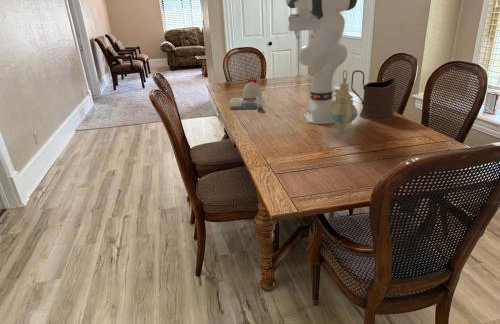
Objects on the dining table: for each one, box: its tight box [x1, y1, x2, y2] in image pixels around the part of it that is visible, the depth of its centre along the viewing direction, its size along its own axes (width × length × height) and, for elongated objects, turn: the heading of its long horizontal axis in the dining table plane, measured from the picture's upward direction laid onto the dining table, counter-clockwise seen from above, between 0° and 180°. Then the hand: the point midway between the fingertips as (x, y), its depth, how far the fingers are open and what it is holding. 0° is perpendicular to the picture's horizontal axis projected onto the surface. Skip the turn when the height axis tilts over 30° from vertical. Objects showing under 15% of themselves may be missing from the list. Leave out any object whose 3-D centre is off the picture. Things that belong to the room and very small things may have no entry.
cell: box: [255, 95, 264, 111], centre depth 214 cm, size 4×4×9 cm
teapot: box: [329, 69, 359, 134], centre depth 163 cm, size 24×12×30 cm, turn 2°
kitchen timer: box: [241, 76, 263, 101], centre depth 240 cm, size 14×14×15 cm
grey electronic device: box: [229, 97, 256, 110], centre depth 222 cm, size 12×16×5 cm
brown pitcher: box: [350, 69, 397, 122], centre depth 187 cm, size 18×24×25 cm
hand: (305, 38), depth 205 cm, fingers open, 8 cm apart
